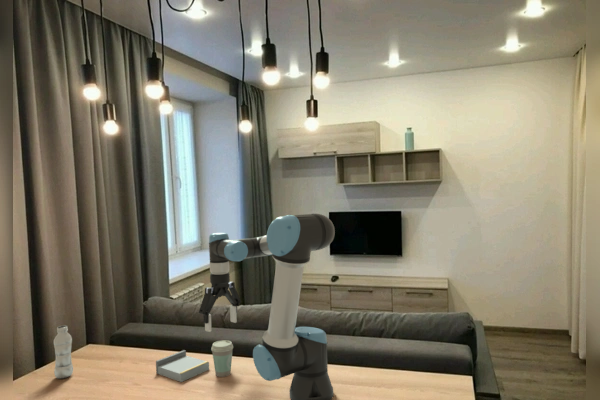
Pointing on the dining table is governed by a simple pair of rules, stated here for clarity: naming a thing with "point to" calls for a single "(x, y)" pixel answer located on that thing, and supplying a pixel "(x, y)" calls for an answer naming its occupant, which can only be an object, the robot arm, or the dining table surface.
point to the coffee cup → (222, 357)
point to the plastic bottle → (63, 353)
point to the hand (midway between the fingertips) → (221, 326)
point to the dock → (180, 366)
